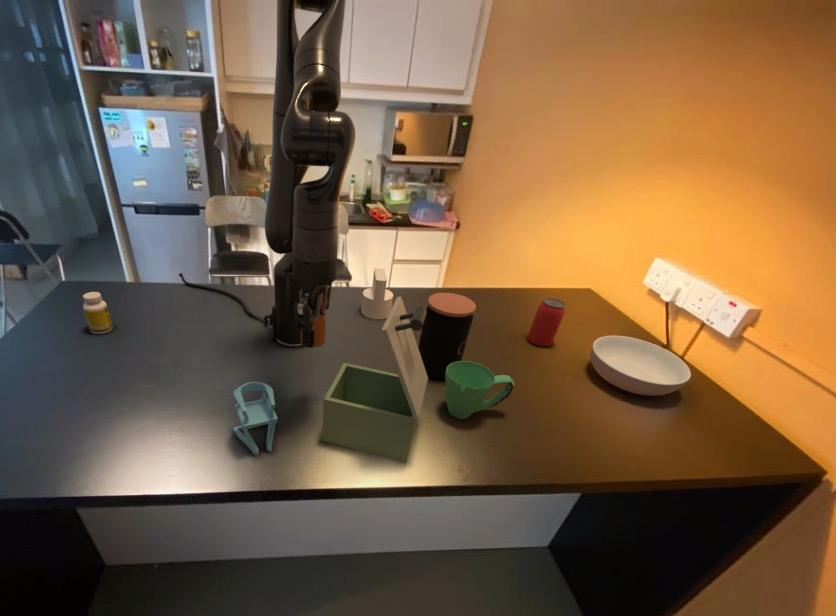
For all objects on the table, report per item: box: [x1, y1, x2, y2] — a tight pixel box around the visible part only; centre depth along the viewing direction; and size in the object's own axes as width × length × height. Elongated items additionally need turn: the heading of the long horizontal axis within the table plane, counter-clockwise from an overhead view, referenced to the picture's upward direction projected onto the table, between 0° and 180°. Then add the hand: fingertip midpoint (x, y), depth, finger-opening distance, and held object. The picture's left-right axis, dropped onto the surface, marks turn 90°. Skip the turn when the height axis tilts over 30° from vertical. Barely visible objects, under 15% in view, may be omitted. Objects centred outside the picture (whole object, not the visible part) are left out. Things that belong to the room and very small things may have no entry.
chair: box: [233, 381, 279, 457], centre depth 78 cm, size 8×8×12 cm
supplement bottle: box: [82, 291, 114, 335], centre depth 109 cm, size 5×5×10 cm
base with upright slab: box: [360, 267, 394, 320], centre depth 125 cm, size 9×9×12 cm
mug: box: [444, 360, 515, 420], centre depth 90 cm, size 15×10×10 cm
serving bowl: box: [590, 335, 692, 397], centre depth 104 cm, size 21×21×7 cm
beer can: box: [527, 297, 566, 348], centre depth 116 cm, size 7×7×12 cm
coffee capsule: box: [301, 314, 327, 348], centre depth 80 cm, size 5×5×5 cm
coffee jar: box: [417, 292, 477, 381], centre depth 100 cm, size 11×11×18 cm
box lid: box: [381, 296, 429, 420], centre depth 73 cm, size 18×13×5 cm
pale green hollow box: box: [321, 362, 418, 463], centre depth 83 cm, size 17×13×10 cm
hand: (312, 339), depth 81 cm, fingers closed on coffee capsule, 4 cm apart
